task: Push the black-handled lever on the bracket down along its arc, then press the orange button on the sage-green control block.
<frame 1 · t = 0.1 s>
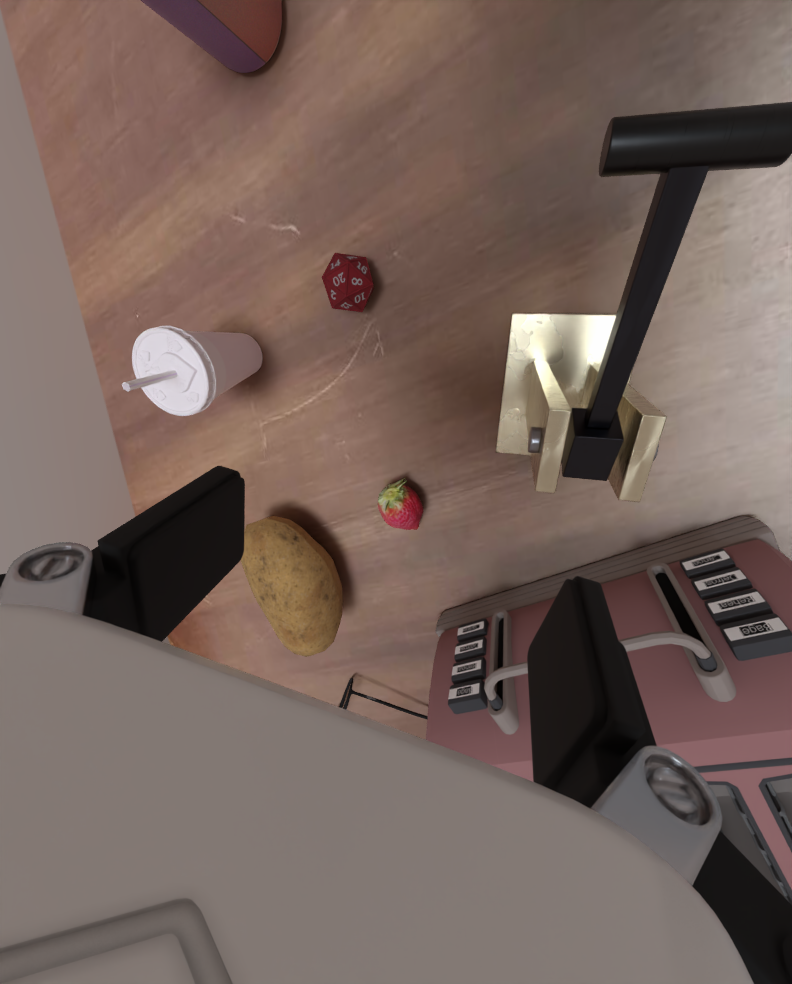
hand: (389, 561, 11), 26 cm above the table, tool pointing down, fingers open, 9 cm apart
toaster: (623, 663, 43), on the table
fruit: (406, 498, 40), on the table
potato: (314, 554, 47), on the table
lever: (625, 340, 17), point 15 cm above the table, hinge at 20.0°
dice: (358, 283, 32), on the table
glasses: (388, 718, 58), on the table
bracket: (561, 388, 32), on the table
beverage can: (247, 17, 27), on the table
smoothie: (245, 353, 38), on the table
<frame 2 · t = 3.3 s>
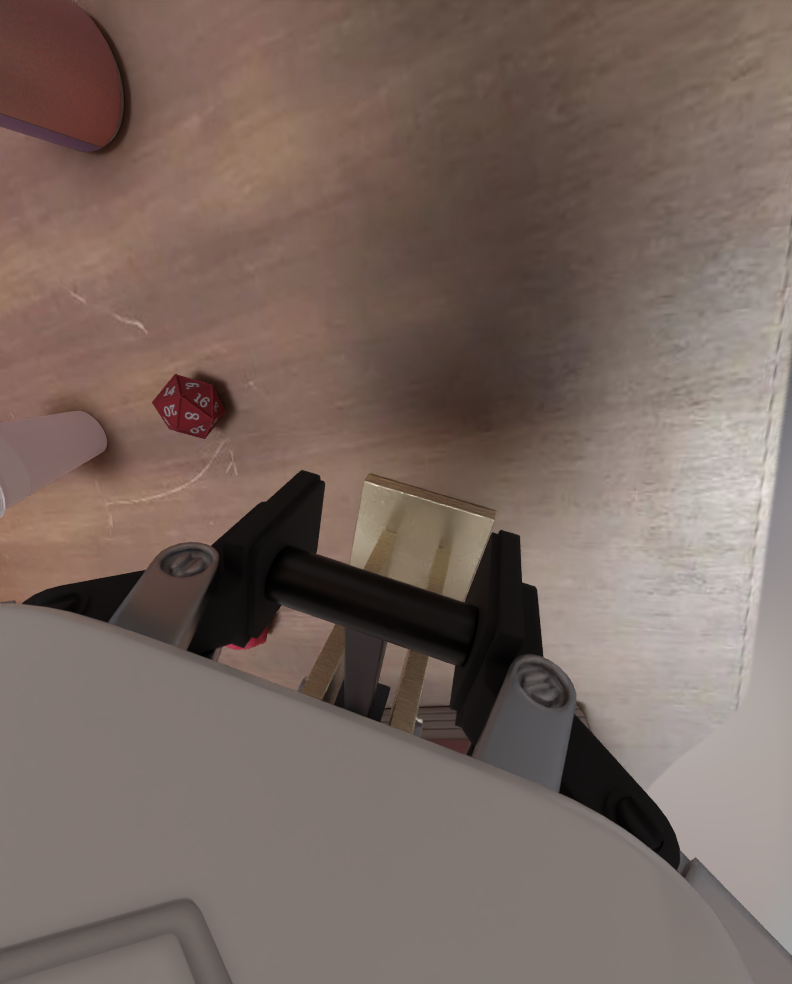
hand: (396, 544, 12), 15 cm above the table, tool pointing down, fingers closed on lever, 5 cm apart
toaster: (458, 791, 43), on the table
fruit: (259, 608, 38), on the table
lever: (362, 678, 15), point 15 cm above the table, hinge at 20.0°, touching gripper
dice: (211, 399, 29), on the table
bracket: (413, 553, 30), on the table
beverage can: (85, 86, 22), on the table
smoothie: (89, 432, 33), on the table
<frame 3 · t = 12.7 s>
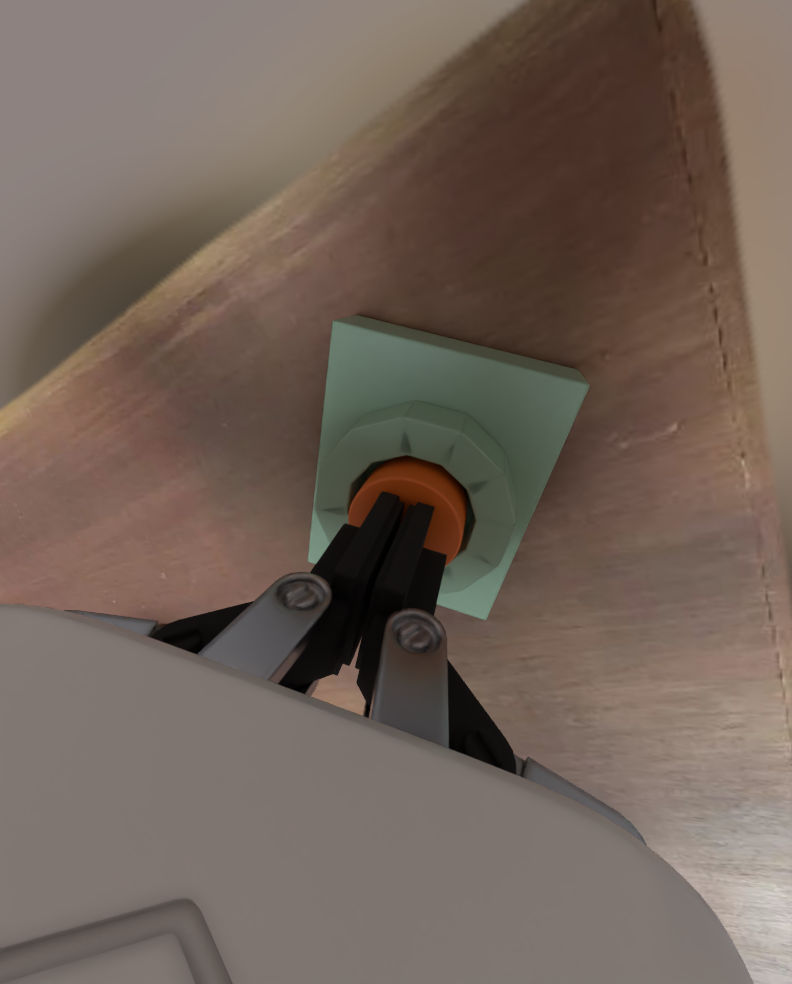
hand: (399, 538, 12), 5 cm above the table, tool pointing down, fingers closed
button: (409, 516, 13), point 4 cm above the table, slide at -0.4 cm, touching gripper
button block: (430, 467, 16), on the table
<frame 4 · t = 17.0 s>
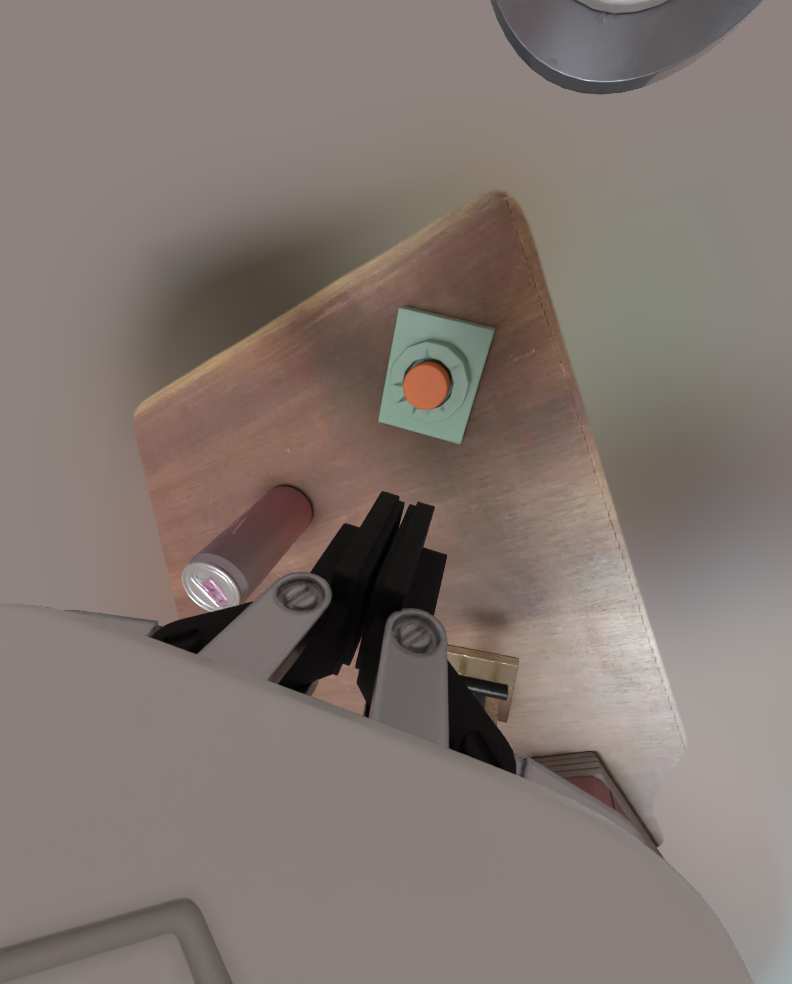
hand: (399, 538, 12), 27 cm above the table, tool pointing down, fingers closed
toaster: (535, 814, 64), on the table
lever: (474, 741, 41), point 12 cm above the table, hinge at -15.0°
bracket: (477, 680, 53), on the table
beverage can: (291, 505, 48), on the table
button: (426, 385, 33), point 4 cm above the table, slide at 0.1 cm
button block: (435, 374, 37), on the table
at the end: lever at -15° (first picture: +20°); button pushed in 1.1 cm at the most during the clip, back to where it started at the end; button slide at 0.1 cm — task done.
